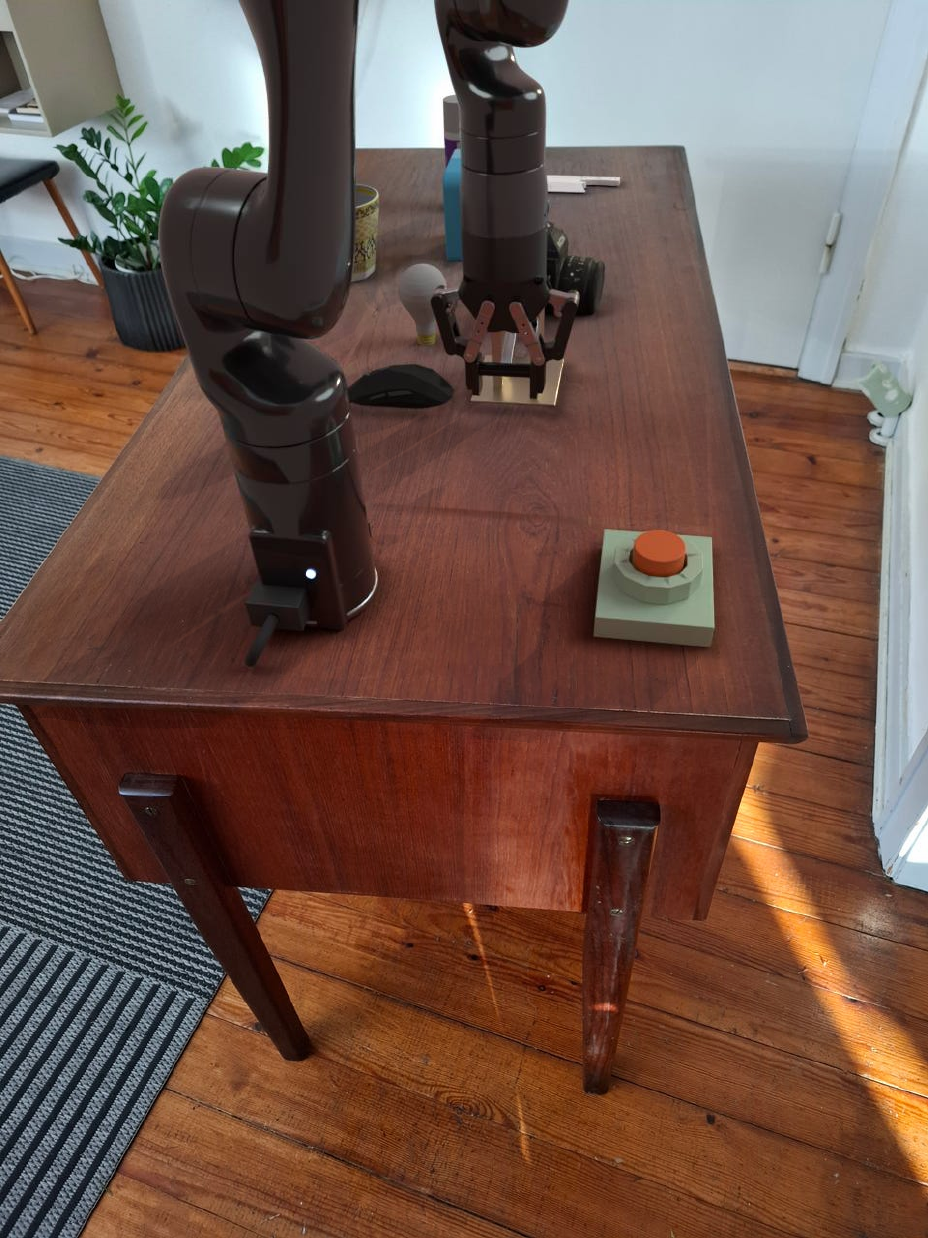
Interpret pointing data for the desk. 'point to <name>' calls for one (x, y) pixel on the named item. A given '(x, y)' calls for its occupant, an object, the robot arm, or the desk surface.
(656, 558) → the button
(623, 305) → the desk surface
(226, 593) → the desk surface
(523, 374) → the lever
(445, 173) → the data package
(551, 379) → the bracket
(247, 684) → the desk surface
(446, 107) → the container
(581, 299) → the film camera
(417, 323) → the light bulb
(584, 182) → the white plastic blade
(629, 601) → the button block
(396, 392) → the gaming mouse
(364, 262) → the ceramic cup
